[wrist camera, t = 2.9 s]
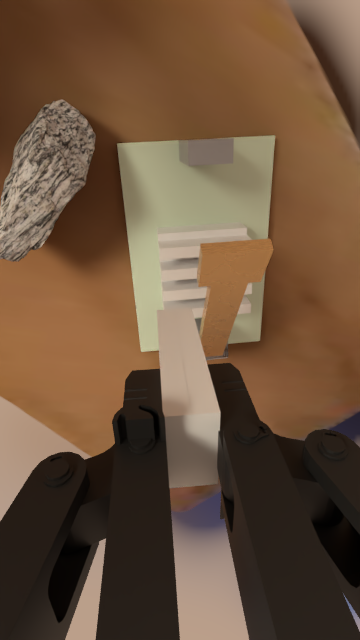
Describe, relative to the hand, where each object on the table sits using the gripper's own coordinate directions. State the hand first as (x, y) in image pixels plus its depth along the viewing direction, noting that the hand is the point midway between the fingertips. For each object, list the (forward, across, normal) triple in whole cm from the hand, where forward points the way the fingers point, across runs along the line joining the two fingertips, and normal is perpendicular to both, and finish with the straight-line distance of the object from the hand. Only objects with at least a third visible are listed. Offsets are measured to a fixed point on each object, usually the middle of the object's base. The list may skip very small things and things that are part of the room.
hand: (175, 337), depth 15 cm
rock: (+29, -12, +5) cm, 32 cm away
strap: (+17, +5, -7) cm, 19 cm away
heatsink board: (+29, +5, -5) cm, 30 cm away
